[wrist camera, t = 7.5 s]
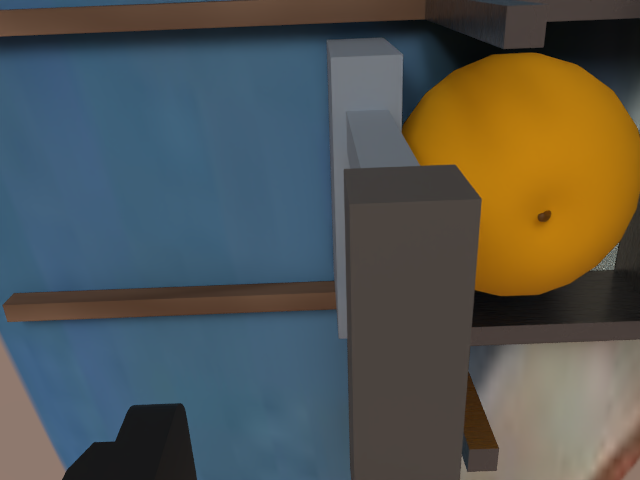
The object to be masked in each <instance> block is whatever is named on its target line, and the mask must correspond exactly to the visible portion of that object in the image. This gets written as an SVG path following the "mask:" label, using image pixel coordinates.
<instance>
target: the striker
mask: <svg viewBox="0 0 640 480" xmlns="http://www.w3.org/2000/svg"><path fill="white" fill-rule="evenodd" d="M327 68H328V100H329V132H330V164H331V196H332V228H333V260H334V280H335V294H336V307H337V321H338V334H339V339H342V338H347V347H348V393H349V438H350V470H351V480H460V469H461V457H462V444H463V431H464V419H465V406H466V393H467V380H468V368H469V355H470V342H471V330H472V317H473V304H474V292H475V279H476V266H477V254H478V241H479V228H480V216H481V203H482V199H481V197H480V196H479V195H478V193H477V192H476V191H475V189H474V188H473V187H472V186H471V184H470V183H469V182H468V180H467V179H466V178H465V176H464V175H463V174H462V172H461V171H460V170H459V168H458V167H457V166H456V165H455V164H453V165H428V166H420V164H419V163H418V161H417V159H416V157H415V156H414V154H413V152H412V150H411V149H410V147H409V145H408V143H407V142H406V140H405V138H404V137H403V135H402V85H403V54H402V53H401V52H400V51H398V50H397V49H396V48H395V47H394V46H393V45H391V44H390V43H389V42H388V41H387V40H386V39H384V38H358V39H333V40H327Z"/></svg>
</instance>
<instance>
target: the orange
mask: <svg viewBox="0 0 640 480" xmlns="http://www.w3.org/2000/svg"><path fill="white" fill-rule="evenodd" d="M402 135H403V137H404V138H405V140H406V142H407V143H408V145H409V147H410V149H411V150H412V152H413V154H414V156H415V157H416V159H417V161H418V163H419V164H420V166H428V165H453V164H455V165H456V166H457V167H458V168H459V170H460V171H461V172H462V174H463V175H464V176H465V178H466V179H467V180H468V182H469V183H470V184H471V186H472V187H473V188H474V189H475V191H476V192H477V193H478V195H479V196H480V197H481V199H482V203H481V216H480V228H479V241H478V254H477V266H476V279H475V290H477V291H481V292H485V293H489V294H493V295H497V296H521V295H540V294H542V293H545V292H548V291H551V290H554V289H556V288H559V287H562V286H565V285H568V284H570V283H571V282H573V281H574V280H576V279H578V278H579V277H581V276H582V275H584V274H585V273H587V272H588V271H590V270H591V269H593V268H594V267H596V266H597V265H598V264H599V263H600V262H601V261H602V260H603V259H604V257H605V256H606V255H607V254H608V253H609V252H610V251H611V250H612V249H613V248H614V247H615V246H616V245H617V244H618V243H619V242H620V240H621V239H622V237H623V235H624V233H625V231H626V229H627V227H628V225H629V223H630V221H631V219H632V217H633V215H634V213H635V211H636V209H637V204H638V199H639V194H640V136H639V132H638V128H637V126H636V125H635V123H634V122H633V120H632V118H631V117H630V115H629V114H628V112H627V111H626V109H625V107H624V106H623V104H622V103H621V101H620V100H619V98H618V97H617V95H616V94H615V93H614V91H613V90H612V89H610V88H609V87H607V86H606V85H605V84H603V83H602V82H601V81H599V80H598V79H597V78H595V77H594V76H593V75H591V74H590V73H589V72H587V71H586V70H584V69H583V68H581V67H580V66H578V65H577V64H573V63H570V62H567V61H563V60H560V59H557V58H553V57H550V56H546V55H543V54H540V53H533V52H530V53H509V54H493V55H490V56H488V57H485V58H483V59H481V60H478V61H476V62H473V63H471V64H469V65H466V66H464V67H461V68H459V69H456V70H454V71H453V72H452V73H450V74H449V75H448V76H447V77H445V78H444V79H443V80H442V81H440V82H439V83H438V84H437V85H435V86H434V87H433V88H432V89H430V90H429V91H428V92H427V93H425V95H424V96H423V98H422V99H421V100H420V102H419V103H418V105H417V106H416V107H415V109H414V110H413V112H412V113H411V114H410V116H409V117H408V118H407V120H406V121H405V123H404V124H403V127H402Z"/></svg>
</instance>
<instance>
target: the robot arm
mask: <svg viewBox="0 0 640 480" xmlns="http://www.w3.org/2000/svg"><path fill="white" fill-rule="evenodd" d="M62 480H197V477H196V470H195V464H194V458H193V452H192V446H191V440H190V434H189V428H188V422H187V417H186V411H185V408H184V406H183V405H182V404H181V403H177V404H151V405H133V406H131V407H130V408H129V410H128V412H127V414H126V416H125V419H124V421H123V424H122V426H121V428H120V431H119V433H118V436H117V438H116V441H115V442H94V443H93V444H92V445H91V446H90V447H89V448H88V449H87V450H86V451H85V452H84V453H83V454H82V455H81V456H80V457H79V458H78V459H77V460H76V461H75V462H74V463H73V464H72V465H71V466H70V467H69V468H68V469H67V471H66V473H65V475H64V477H63V479H62Z"/></svg>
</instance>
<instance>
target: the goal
mask: <svg viewBox="0 0 640 480" xmlns="http://www.w3.org/2000/svg"><path fill="white" fill-rule="evenodd" d="M627 18H640V0H425V19H426V20H428V21H431V22H434V23H436V24H439V25H442V26H444V27H447V28H449V29H452V30H455V31H457V32H460V33H463V34H465V35H468V36H471V37H473V38H476V39H478V40H481V41H484V42H486V43H489V44H492V45H494V46H497V47H500V48H502V49H516V48H541V47H544V40H545V31H546V22H553V21H578V20H603V19H627ZM636 339H640V194H639V199H638V204H637V209H636V211H635V213H634V215H633V217H632V219H631V221H630V223H629V225H628V227H627V229H626V231H625V233H624V235H623V237H622V239H621V240H620V243H619V249H618V254H617V260H616V265H615V270H601V271H588V272H587V273H585V274H584V275H582V276H581V277H579V278H578V279H576V280H574V281H573V282H571V283H570V284H568V285H565V286H562V287H559V288H556V289H554V290H551V291H548V292H545V293H542V294H540V295H521V296H497V295H493V294H489V293H485V292H481V291H477V290H475V292H474V304H473V317H472V330H471V342H470V346H480V345H506V344H532V343H558V342H584V341H610V340H636ZM498 452H499V447H498V445H497V442H496V440H495V437H494V435H493V432H492V430H491V427H490V425H489V422H488V420H487V417H486V415H485V412H484V410H483V407H482V405H481V402H480V399H479V397H478V394H477V392H476V389H475V387H474V384H473V382H472V379H471V377H470V374H469V372H468V380H467V393H466V406H465V419H464V431H463V444H462V456H463V459H464V462H465V466H466V469H467V472H475V471H496V470H497V461H498Z"/></svg>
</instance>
